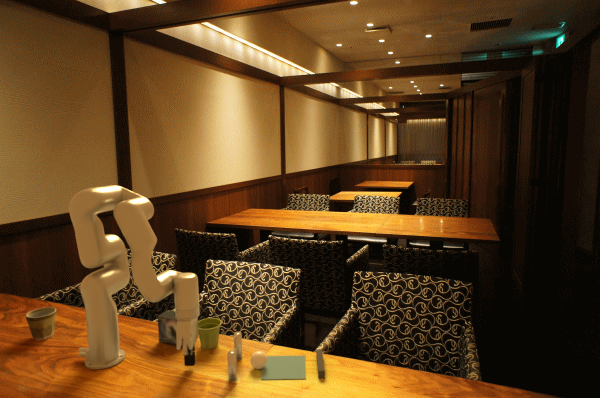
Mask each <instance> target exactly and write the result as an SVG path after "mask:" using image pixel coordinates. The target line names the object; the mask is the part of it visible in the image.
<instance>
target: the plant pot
mask: <svg viewBox="0 0 600 398" xmlns="http://www.w3.org/2000/svg"><path fill="white" fill-rule="evenodd" d="M222 323H223V321H222V320H221V319H219V318H217V317H207V318H203V319H201V320H198V338H199V343H200V346H201V348H202V349H203V350H211V349H215V348H216V347H218V346H219V340H220V339H219V338H220V328H221V326H222Z"/></svg>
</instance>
